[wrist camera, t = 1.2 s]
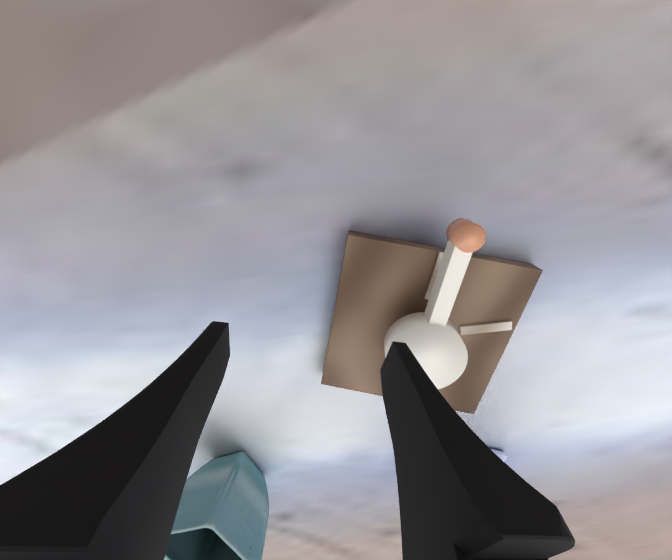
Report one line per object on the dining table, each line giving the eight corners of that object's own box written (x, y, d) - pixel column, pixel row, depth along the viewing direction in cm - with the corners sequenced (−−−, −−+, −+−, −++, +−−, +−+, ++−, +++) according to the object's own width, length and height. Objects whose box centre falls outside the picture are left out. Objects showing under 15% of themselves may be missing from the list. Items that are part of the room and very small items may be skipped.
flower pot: (230, 494, 38) (192, 585, 30) (192, 451, 35) (139, 538, 27) (284, 481, 36) (260, 576, 28) (248, 435, 33) (210, 524, 25)
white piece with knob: (446, 379, 24) (453, 399, 22) (376, 366, 24) (378, 384, 22) (508, 226, 19) (525, 233, 17) (419, 210, 19) (426, 215, 17)
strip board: (531, 264, 22) (552, 276, 20) (468, 401, 28) (478, 424, 26) (348, 230, 23) (347, 238, 20) (323, 373, 29) (319, 393, 26)
